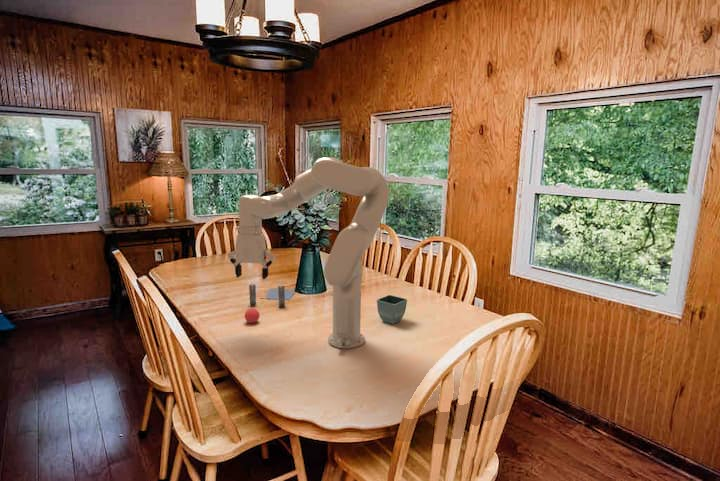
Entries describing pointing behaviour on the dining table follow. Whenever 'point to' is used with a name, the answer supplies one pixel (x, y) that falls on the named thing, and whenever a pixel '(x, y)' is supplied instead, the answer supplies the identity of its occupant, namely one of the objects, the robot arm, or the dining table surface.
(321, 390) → the dining table surface
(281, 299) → the post right
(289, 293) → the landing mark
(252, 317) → the ball
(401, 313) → the flower pot
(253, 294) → the post left
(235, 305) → the dining table surface
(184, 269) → the dining table surface
